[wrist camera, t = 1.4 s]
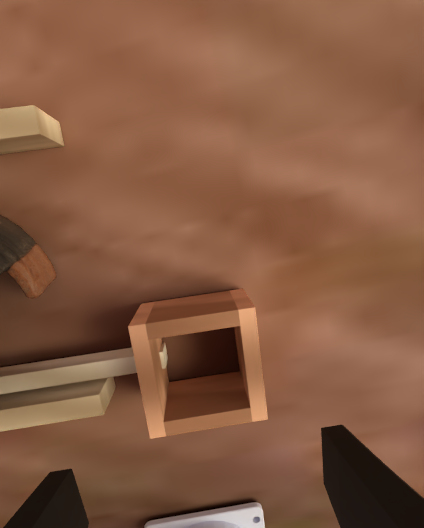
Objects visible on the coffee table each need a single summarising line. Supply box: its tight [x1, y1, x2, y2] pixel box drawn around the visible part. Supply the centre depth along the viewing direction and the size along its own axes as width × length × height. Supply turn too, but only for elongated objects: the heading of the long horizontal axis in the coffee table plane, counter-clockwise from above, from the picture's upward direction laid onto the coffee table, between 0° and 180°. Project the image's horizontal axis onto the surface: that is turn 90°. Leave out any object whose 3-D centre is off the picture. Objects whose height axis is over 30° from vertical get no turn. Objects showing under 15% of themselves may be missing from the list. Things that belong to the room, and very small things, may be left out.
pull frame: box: [0, 289, 268, 439], centre depth 15 cm, size 15×23×4 cm, turn 98°
